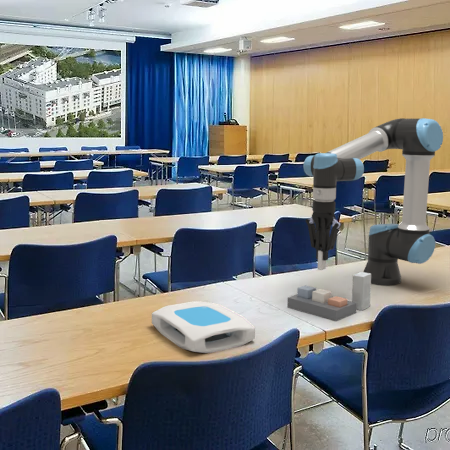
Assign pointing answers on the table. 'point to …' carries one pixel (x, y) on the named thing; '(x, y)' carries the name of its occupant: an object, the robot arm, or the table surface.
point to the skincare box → (361, 290)
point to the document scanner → (202, 326)
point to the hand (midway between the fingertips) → (321, 269)
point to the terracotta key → (337, 301)
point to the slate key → (305, 292)
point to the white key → (321, 295)
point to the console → (321, 308)
